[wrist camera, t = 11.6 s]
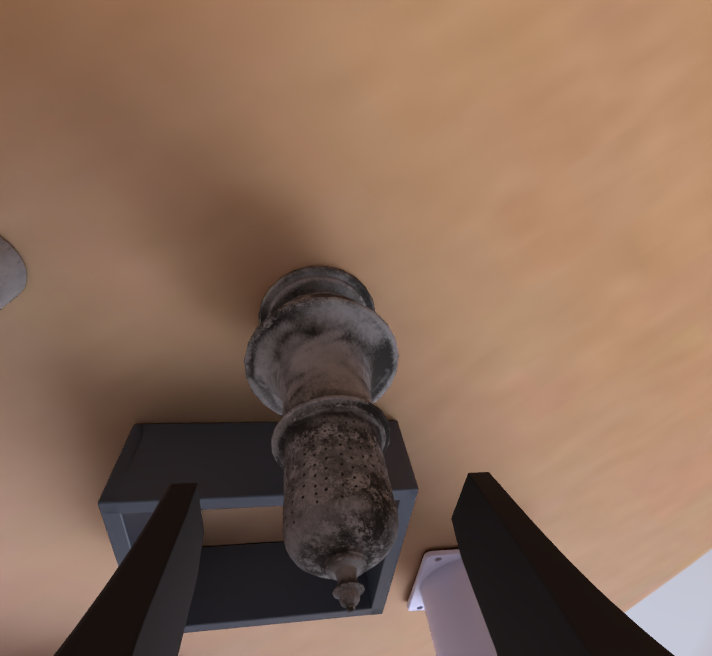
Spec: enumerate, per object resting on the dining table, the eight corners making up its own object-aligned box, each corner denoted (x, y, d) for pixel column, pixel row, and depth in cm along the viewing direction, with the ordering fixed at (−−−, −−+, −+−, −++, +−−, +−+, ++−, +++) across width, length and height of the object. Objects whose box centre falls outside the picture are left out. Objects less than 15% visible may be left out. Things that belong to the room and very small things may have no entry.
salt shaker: (223, 311, 18) (129, 626, 7) (332, 231, 16) (398, 476, 6) (307, 390, 20) (322, 694, 10) (404, 328, 19) (529, 601, 9)
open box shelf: (397, 420, 22) (419, 489, 19) (370, 542, 28) (382, 614, 24) (133, 423, 20) (96, 503, 16) (163, 556, 26) (141, 637, 22)
